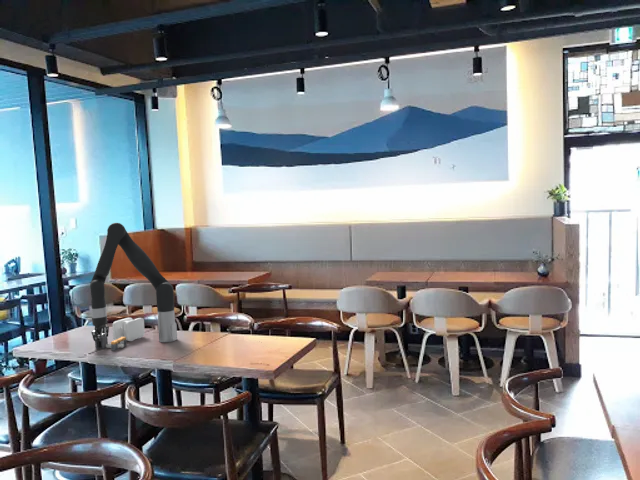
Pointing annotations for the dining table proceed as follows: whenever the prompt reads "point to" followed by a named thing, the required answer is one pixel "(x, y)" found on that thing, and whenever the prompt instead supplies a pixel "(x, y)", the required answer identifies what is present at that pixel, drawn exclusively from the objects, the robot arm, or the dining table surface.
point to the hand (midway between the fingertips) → (101, 346)
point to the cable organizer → (128, 329)
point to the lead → (106, 343)
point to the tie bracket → (115, 343)
